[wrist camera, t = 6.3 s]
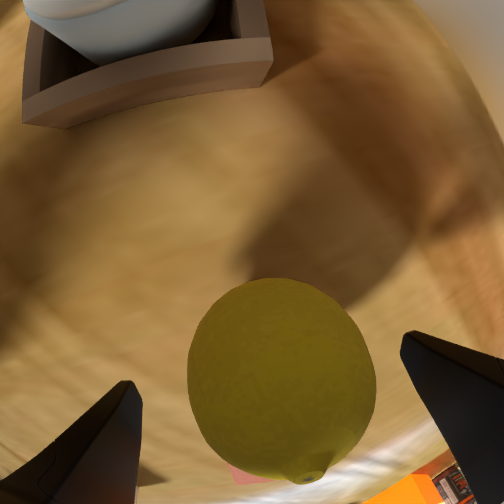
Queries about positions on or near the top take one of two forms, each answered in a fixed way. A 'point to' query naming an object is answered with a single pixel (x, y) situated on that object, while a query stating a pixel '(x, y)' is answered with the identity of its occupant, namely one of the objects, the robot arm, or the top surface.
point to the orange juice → (409, 492)
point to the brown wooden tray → (141, 72)
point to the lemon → (280, 380)
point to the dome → (122, 25)
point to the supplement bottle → (453, 487)
